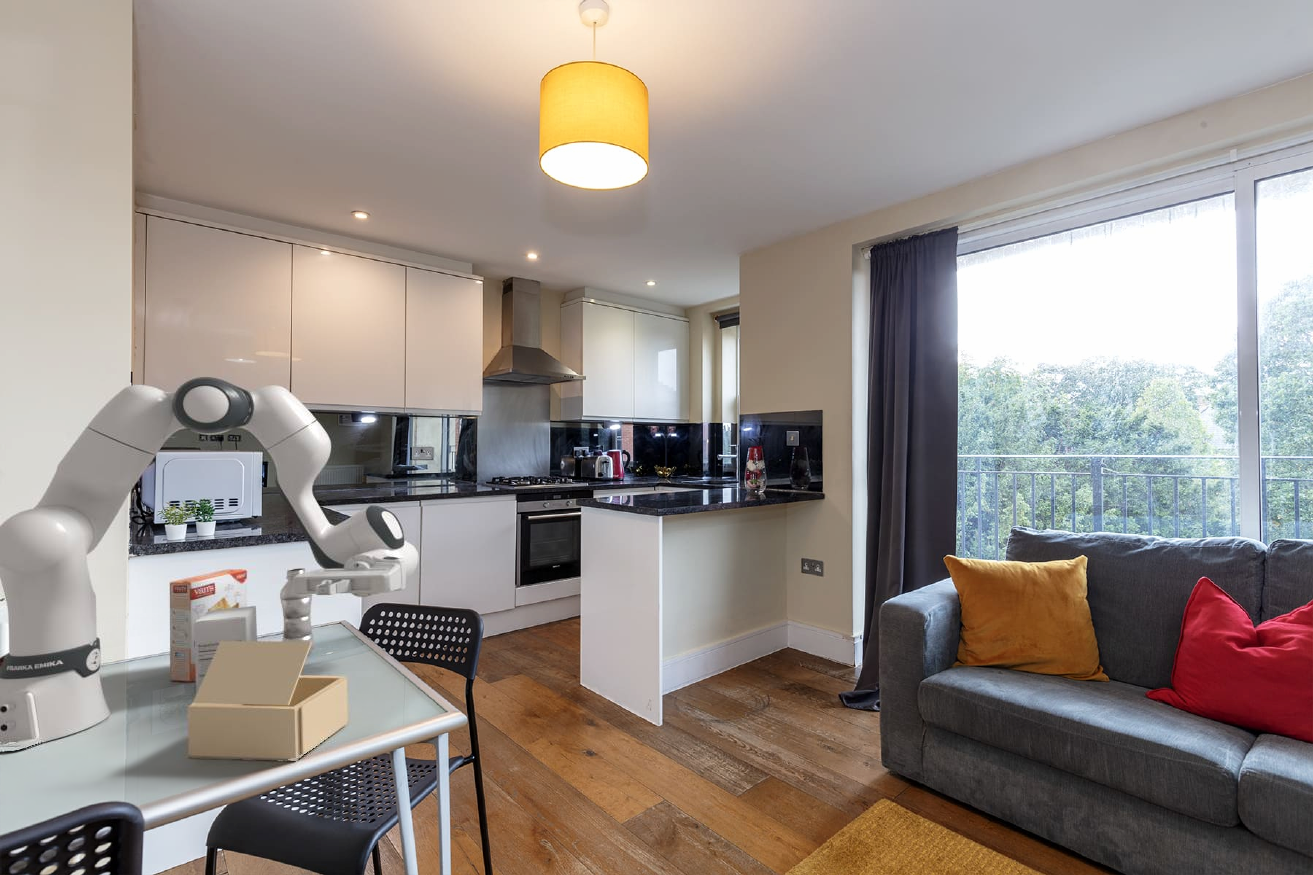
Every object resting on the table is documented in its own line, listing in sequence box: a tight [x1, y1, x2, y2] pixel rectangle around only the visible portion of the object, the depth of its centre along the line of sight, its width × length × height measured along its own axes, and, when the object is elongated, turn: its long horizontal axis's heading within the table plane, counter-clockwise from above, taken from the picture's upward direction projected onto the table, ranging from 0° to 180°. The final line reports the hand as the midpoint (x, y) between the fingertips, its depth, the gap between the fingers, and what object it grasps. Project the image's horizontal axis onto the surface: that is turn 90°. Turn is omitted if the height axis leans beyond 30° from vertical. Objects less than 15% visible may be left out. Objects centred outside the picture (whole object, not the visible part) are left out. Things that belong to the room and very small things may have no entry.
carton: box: [187, 674, 349, 761], centre depth 101 cm, size 19×14×8 cm
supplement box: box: [194, 605, 258, 696], centre depth 125 cm, size 9×9×15 cm
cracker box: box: [169, 568, 248, 683], centre depth 135 cm, size 14×6×21 cm, turn 168°
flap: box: [192, 640, 312, 705], centre depth 97 cm, size 16×1×10 cm
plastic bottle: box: [279, 567, 315, 655], centre depth 142 cm, size 6×7×20 cm
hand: (322, 590), depth 114 cm, fingers closed
